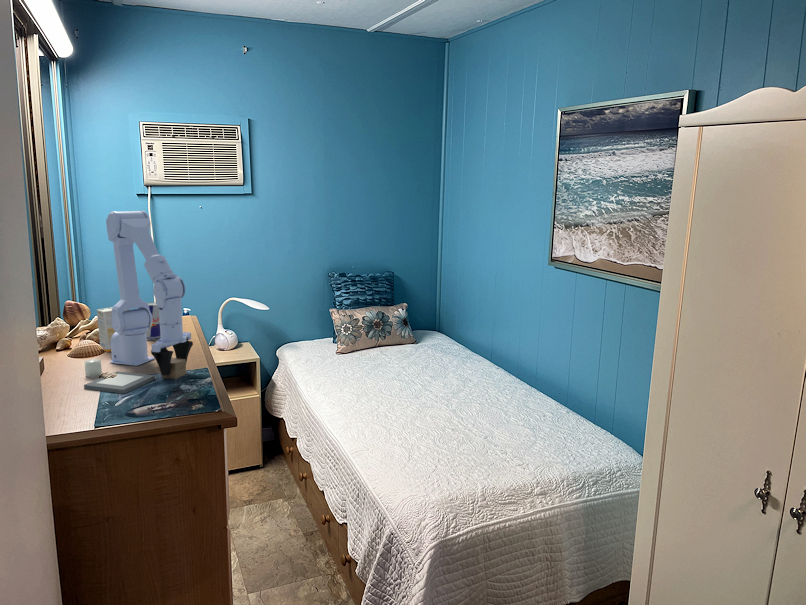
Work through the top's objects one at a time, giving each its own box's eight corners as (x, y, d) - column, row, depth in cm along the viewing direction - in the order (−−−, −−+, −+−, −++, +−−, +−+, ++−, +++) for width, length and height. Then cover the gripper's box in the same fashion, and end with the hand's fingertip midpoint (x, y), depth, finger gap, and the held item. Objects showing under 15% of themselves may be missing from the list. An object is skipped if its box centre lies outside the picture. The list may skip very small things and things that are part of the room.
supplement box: (125, 344, 195) (122, 305, 192) (132, 347, 192) (129, 307, 189) (99, 349, 189) (96, 308, 186) (106, 352, 186) (103, 311, 183)
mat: (84, 388, 153) (83, 384, 153) (117, 374, 164) (117, 370, 164) (124, 393, 150) (123, 389, 150) (155, 379, 161) (154, 375, 161)
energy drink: (145, 341, 199) (142, 306, 197) (143, 337, 204) (141, 303, 201) (162, 339, 202) (160, 304, 199) (160, 336, 206) (158, 302, 204)
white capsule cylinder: (82, 376, 163) (80, 362, 162) (93, 372, 167) (92, 358, 166) (94, 377, 162) (93, 363, 161) (105, 373, 166) (104, 359, 165)
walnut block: (161, 377, 163) (160, 362, 162) (172, 373, 167) (171, 357, 166) (176, 379, 162) (175, 363, 161) (186, 374, 166) (185, 359, 165)
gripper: (166, 329, 154) (169, 380, 156) (199, 318, 168) (201, 364, 170) (143, 327, 156) (146, 377, 158) (177, 316, 169) (180, 362, 172)
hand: (173, 370), depth 164 cm, fingers open, 6 cm apart
